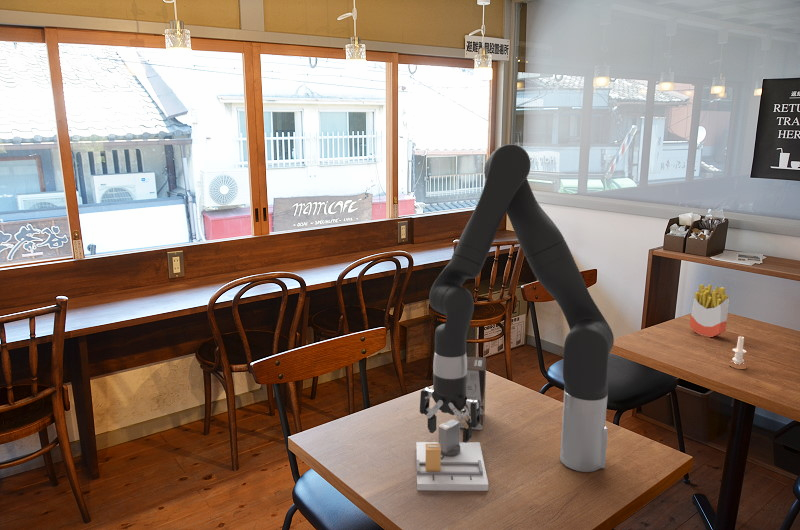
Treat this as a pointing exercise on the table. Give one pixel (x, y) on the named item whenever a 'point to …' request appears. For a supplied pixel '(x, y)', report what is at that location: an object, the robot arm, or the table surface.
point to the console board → (453, 470)
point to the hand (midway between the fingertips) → (449, 436)
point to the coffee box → (476, 385)
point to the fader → (433, 457)
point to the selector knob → (449, 438)
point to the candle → (739, 351)
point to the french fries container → (709, 311)
